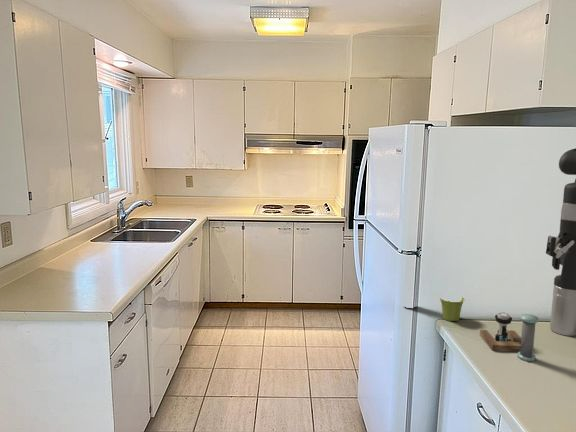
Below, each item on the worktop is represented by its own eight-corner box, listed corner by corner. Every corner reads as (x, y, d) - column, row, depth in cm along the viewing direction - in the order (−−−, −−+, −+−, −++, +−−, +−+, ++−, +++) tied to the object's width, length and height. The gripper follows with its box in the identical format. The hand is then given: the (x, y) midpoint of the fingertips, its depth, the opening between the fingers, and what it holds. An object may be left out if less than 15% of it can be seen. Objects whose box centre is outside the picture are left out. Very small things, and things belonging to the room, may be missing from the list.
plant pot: (434, 318, 173) (435, 298, 172) (444, 312, 180) (445, 292, 178) (457, 325, 167) (458, 303, 165) (467, 318, 173) (468, 297, 172)
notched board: (513, 335, 157) (514, 330, 157) (529, 351, 145) (529, 345, 145) (479, 335, 158) (479, 329, 158) (492, 350, 146) (492, 345, 146)
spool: (530, 354, 143) (533, 314, 141) (537, 361, 138) (541, 320, 136) (514, 354, 144) (517, 313, 141) (521, 361, 139) (524, 320, 136)
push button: (500, 335, 157) (502, 309, 155) (515, 341, 153) (517, 314, 151) (490, 340, 153) (492, 314, 152) (505, 346, 149) (507, 318, 147)
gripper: (592, 215, 135) (587, 265, 138) (544, 215, 136) (540, 265, 139) (608, 219, 128) (602, 272, 130) (557, 219, 129) (552, 272, 132)
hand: (570, 269), depth 135 cm, fingers open, 8 cm apart
